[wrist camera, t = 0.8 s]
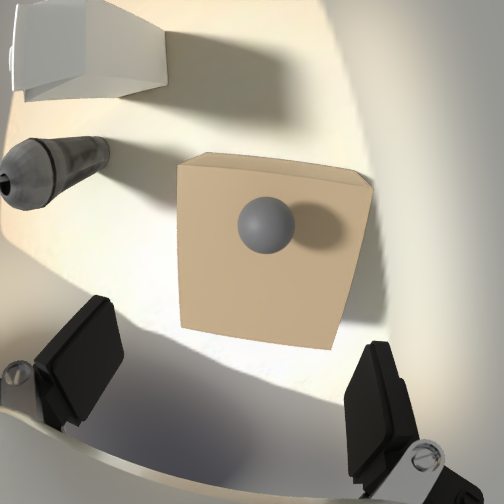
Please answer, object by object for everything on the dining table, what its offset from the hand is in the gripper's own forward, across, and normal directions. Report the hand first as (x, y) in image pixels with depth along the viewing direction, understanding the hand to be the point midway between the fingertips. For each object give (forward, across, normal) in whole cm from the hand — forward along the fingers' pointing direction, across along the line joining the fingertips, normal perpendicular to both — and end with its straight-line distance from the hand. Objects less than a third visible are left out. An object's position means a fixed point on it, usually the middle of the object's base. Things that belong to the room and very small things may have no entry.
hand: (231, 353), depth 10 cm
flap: (+17, 0, +5) cm, 17 cm away
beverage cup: (+25, +23, -3) cm, 34 cm away
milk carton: (+25, +17, -14) cm, 33 cm away
